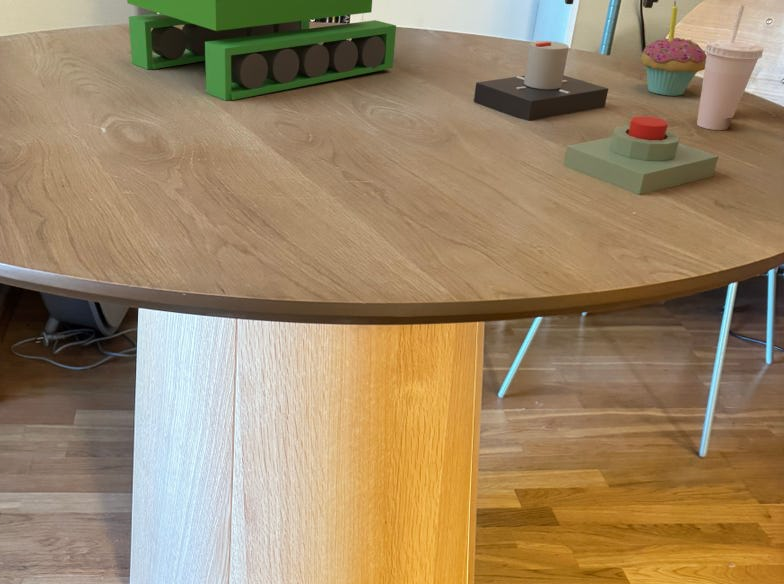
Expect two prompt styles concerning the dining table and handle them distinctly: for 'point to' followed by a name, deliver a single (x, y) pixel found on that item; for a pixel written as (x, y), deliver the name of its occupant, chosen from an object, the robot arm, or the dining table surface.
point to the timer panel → (539, 97)
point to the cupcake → (672, 62)
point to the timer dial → (546, 64)
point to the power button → (648, 128)
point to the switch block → (640, 161)
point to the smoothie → (726, 78)
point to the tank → (260, 42)
